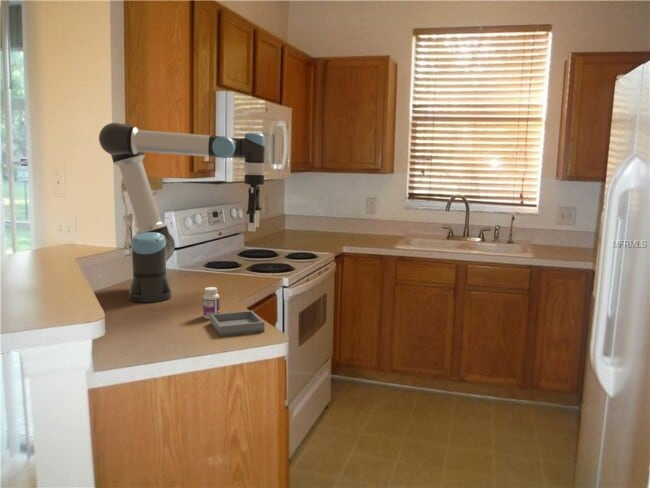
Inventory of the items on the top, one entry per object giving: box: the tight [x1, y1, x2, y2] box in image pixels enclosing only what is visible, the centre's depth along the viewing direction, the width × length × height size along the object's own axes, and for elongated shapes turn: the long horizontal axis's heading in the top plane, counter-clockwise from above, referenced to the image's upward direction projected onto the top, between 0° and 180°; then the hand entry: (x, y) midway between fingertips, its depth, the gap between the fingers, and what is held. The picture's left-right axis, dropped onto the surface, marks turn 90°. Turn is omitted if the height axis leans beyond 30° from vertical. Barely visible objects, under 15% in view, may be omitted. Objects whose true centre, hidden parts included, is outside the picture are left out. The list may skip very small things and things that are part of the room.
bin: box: [209, 310, 265, 337], centre depth 173 cm, size 14×14×3 cm
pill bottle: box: [202, 286, 221, 320], centre depth 183 cm, size 5×5×10 cm
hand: (253, 229), depth 219 cm, fingers open, 13 cm apart
